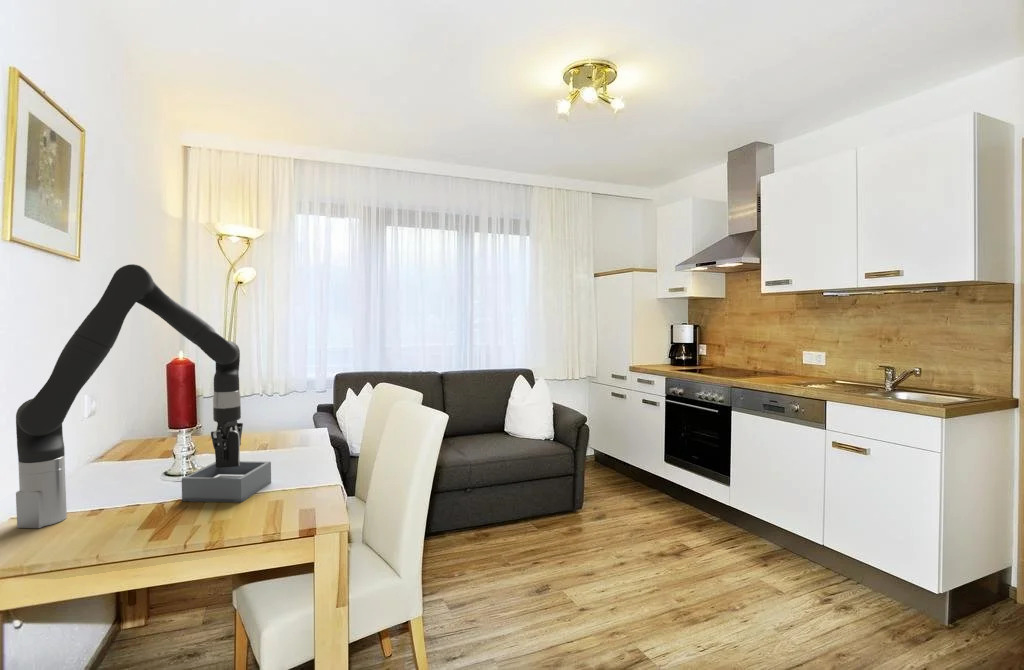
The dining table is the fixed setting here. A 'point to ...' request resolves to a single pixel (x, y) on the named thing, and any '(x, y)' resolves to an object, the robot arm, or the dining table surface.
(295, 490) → the dining table surface
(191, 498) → the walled box
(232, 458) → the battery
